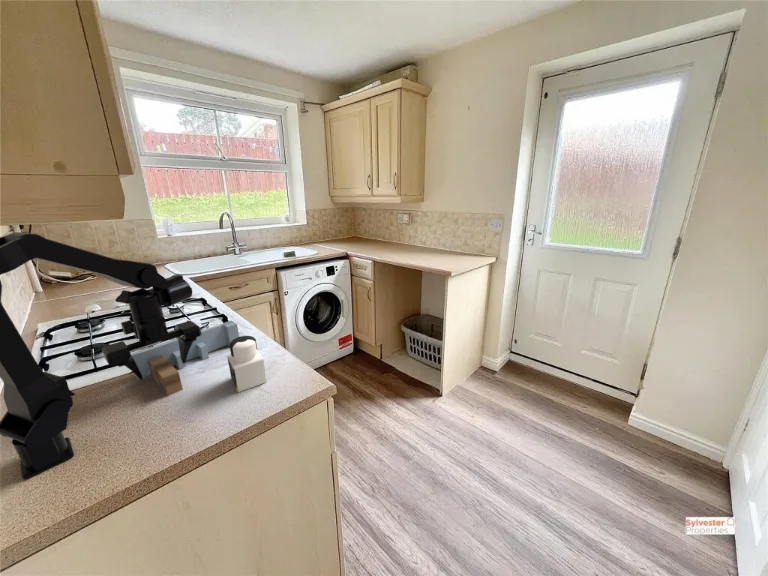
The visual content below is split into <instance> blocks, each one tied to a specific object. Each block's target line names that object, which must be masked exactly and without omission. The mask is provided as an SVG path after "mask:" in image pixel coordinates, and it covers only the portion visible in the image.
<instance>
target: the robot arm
mask: <svg viewBox="0 0 768 576" xmlns="http://www.w3.org/2000/svg"><path fill="white" fill-rule="evenodd" d="M34 259H35V260H39V261H43V262H47V263H51V264H55V265H59V266H63V267H66V268H72V269H77V270H79V271H80V270H81V271H83V272H87V273H92V274H96V275H98V276H101V277H103V278H105V279H106V280H109V281H111V282H113V283H116V284H118V285H120V286H123V287H128V288H129V287H130V288H136V290H132V291H131V290H122V291H121V293H120V294H119V295H117V297H116V298H115V302H116V303H121V304H127V305H128V306H129V311H130V313H131V316H132V320H133V322H132V320H125V321H122V322H120V325H121V329H122V332H123V334H124V335H126V336H127V335H129V334H134V335H135V336H134V337H135V338H136V340H138V341H135V342H132V343H129V344H126V343H125V341H124V340H121V341H118V342H114V343H112V344H108V345H105V346H103V347H102V349H101V352H102V354H103V358H104V359H105V361H106V363H108V365H109V366H110V367H113V366H116V365H117V367H119V368H120V367H123V366H125V367H126V368H127V369H128V370H130V371H131V372H133V374H134V375H135V377H136V376H137V377H138V378H139V379H138V380H140V381H142V380H143V379H144V377H143V378H142V375H141V373H140V371H139V368H138V366H137V364H136V362H135V360H134V359H133V358H132V356H131V354H132V353H135V352H136V351H137V352H138V351H141V350H144V349H147V348H150V347H153V346H157V345H160V344H163V342H164V343H166V342H169V341H172V340H175V339H178V342H179V349H180V356H181V360H182V363H183V364H184V363H185V364H186V362H187V361H186V359H187V356H188V352H189V350H190V347H191V345H192V343H193V341H195V340H197V338H196V337H199V336H201V335H202V334H201V331H202V329H201V328H200V325H198V324H196V323H195V322H194V321H192V320H186V321H183V322H180V323H177V324H175V329H174V330H171V331H169V330H168V327H167V323H166V322H167V321H166V318H165V315H164V311H163V307H167V308H169V307H171V306H174V305H177V304H179V303H182V302H185V301H186V300H188V299H190V298H191V297H192V296H193V289H192V287H191V285H190V283H189V282H188V281H187V280H186V279H184V276H183V275H182V274H173V275H171V276H170V277H166V278H165V277H164V276H162V274H160V273H159V272H158V269H157V267H156V266H155V265H154V264H152V263H150V262H149V263H148V262H141V261H132V260H126V259H120V258H119V259H118V258H113V257H110V256H106V255H103V254H99V253H97V252H96V253H95V252H92V251H90V250H89V251H88V250H85V249H83V248H79V247H76V246H72V245H68V244H65V243H62V242H58V241H55V240H52V239H48V238H45V237H44V236H42V235H40V234H36V233H30V232H22V231H21V232H18V231H17V232H12V233H9V234H7V235H4V236H0V276H2V275H4V274H7V273H9V272H11V271H15V270H16V269H17V268H20V267H22V265H25V264H26V263H28V262H30V261H32V260H34ZM2 292H3V284H2V281H1V279H0V379H1V381H2V383H3V387H4V388H3V400H4V403H5V406H6V409H7V410H6V412H5V414H4V415H3V417H2V418H1V420H0V435H1V436H2V437H5V438H10V439H11V440H12V441H11V444H12V445H13V447H14V449H15V451H16V454H17V455H18V458H19V459H20V460H19V462H20V468H21V477H22V478H21V479H23V480H27V479H29V478H31V477H33V476H36V475H38V474H40V473H42V472H44V471H47V470H49V469H51V468H53V467H55V466H57V465H59V464H61V463H63V462H66V461H67V460H70V459H72V458H73V457H74V456H75V452H74V449H73V446H72V442H71V440H70V437H65V436H64V434H63V432H64V431H65V430H66V429H67V428H68V419H69V412H70V410H71V408H73V406H74V400H73V398H72V397H73V396H75V395H76V393H75V392H72V390H71V389H70V387H69V384H68V382H67V379H66V378H65V377H63V376H59V375H57V374H53V373H49V372H46V371H42V369H41V367H40V365H39V364H38V362H37V361H36V359H35V358H34V356H33V354H32V352H31V351H30V349H29V347H28V345H27V344H26V342H25V340H24V338H23V336H22V335H21V333H20V332H19V331H18V329H17V327H16V325H15V324H14V322H13V321H12V319H11V317H10V315H9V314H8V312H7V311H6V309H5V307H4V305H3V303H2V297H3V296H2V295H3V293H2ZM162 306H163V307H162Z"/></svg>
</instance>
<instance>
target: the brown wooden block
mask: <svg viewBox="0 0 768 576" xmlns="http://www.w3.org/2000/svg"><path fill="white" fill-rule="evenodd" d="M148 364H149V367H150V370H151V376H152V378H153V379H154V381H155V382H156V383H157V385H159V387H161V389H162V390H163V392H164V393H165V394H166V395H167V396H171V395H173V394H175V393H179V392H180V391H182V390H184V389H183V385H182V381H181V377H180V373H179V371H178V370H177V369H176V368H175V367H174V366H172V365H171V364H170V363H169V362H168V361H167V360H166V359H165V358H164V357H163V355H160V356H157V357H154V358H151V359H149V360H148Z"/></svg>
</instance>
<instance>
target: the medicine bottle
mask: <svg viewBox="0 0 768 576" xmlns="http://www.w3.org/2000/svg"><path fill="white" fill-rule="evenodd" d="M229 346H230V347H229ZM229 346H228V347H229V350H230V354H228V355H227V362H228V363H227V364H228V368H229V372H230V377H231V380H232V383H233V385H234V387H235V390H236V391H237V393H240V392H243V391H246V390H249V389H252V388H254V387H257V386H259V385H262V384H265V383H267V382H268V380H267V373H266V365H265V360H264V359H265V358H264V357H263V356H262V354H261V352H260V351H259V350H258V347H257V346H258V344H257V339H256V338H255V337H254V336H252V335H241V336H239V337H238V338H235V339H233V340H232V341H231V342H230V344H229Z"/></svg>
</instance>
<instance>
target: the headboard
mask: <svg viewBox="0 0 768 576" xmlns="http://www.w3.org/2000/svg"><path fill="white" fill-rule="evenodd" d="M201 334H202V335H201V336H199V337H196V338H197V340H195V341H193V343H192V345H191V347H190V350H189V352H188V356H187V359H186V362H188V361H189V360H193V359H194V358H197V357H199V358H200V359H201V360H202V361H203V360H206V359H208V358H209V353H210V352H212V351H216V350H219V349H220V348H224V347H226V346H227V347H229V348H230V346H229V344H230V342H231V341H232V340H233V339H235V338H238V337H240V334H239V327H238V323H236V322H235V321H233V320H229V321H227V322H223V323H220V324H216V325H215V326H211V327H207V328H206V329H205V328H204V329H201ZM160 355H163V357H164V358H165V359H166V360H167V361H168V362H169V363H170V364H171V365H172V366H173V367H174V366H176V367H177V368H178V369H179V370H181V369H184V368H186V367H187V365H186V362H185V363H184V364H183V363H182V360H181V356H180V349H179V342H178V339H177V338H174V339H171V340H168V341H165V342H164V343H163V342H162V343H159V344H156V345H153V346H150V347H147V348H144V349H141V350H137V352H136V351H134V352H131V356H132V358H133V359H134V360H135V362H136V364H137V366H138V368H139V371H140V373H141V375H142V378H143V379H144V378H146V377H149V376H152V374H151V370H150V367H149V364H148V360H149V359H151V358H154V357H157V356H160ZM135 378H136V380H140V379H139V378H138V377H137V376H136V375H135Z"/></svg>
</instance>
